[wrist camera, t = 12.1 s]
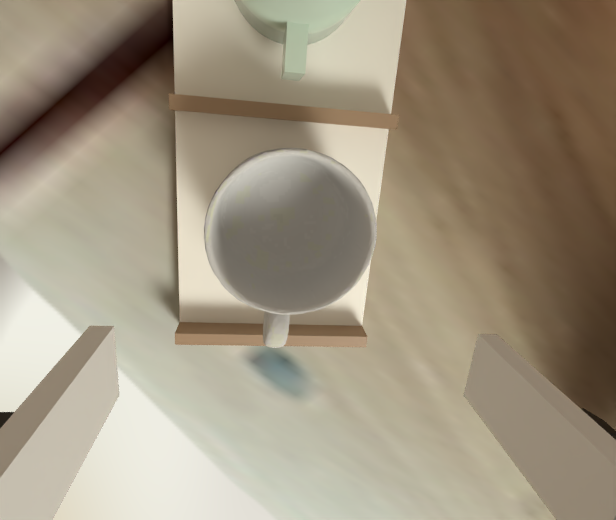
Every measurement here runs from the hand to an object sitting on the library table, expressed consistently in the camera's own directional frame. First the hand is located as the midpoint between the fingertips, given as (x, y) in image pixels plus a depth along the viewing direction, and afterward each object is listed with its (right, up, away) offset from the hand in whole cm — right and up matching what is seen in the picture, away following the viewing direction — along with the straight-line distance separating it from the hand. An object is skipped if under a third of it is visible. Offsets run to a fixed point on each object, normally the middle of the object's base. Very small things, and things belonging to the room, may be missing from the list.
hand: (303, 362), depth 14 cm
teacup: (-2, +6, +18) cm, 19 cm away
